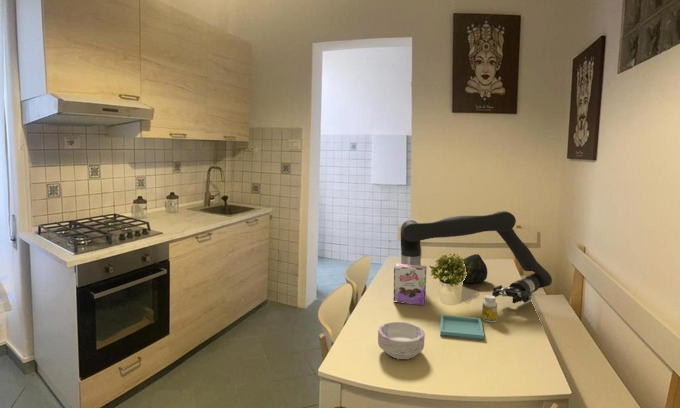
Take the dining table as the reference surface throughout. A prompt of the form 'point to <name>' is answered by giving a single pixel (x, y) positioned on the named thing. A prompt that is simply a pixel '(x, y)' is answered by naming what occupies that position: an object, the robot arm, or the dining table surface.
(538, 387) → the dining table surface
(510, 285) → the robot arm
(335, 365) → the dining table surface
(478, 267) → the squash
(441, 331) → the teal tray
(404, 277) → the candy box
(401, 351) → the paper bowls
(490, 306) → the supplement bottle
